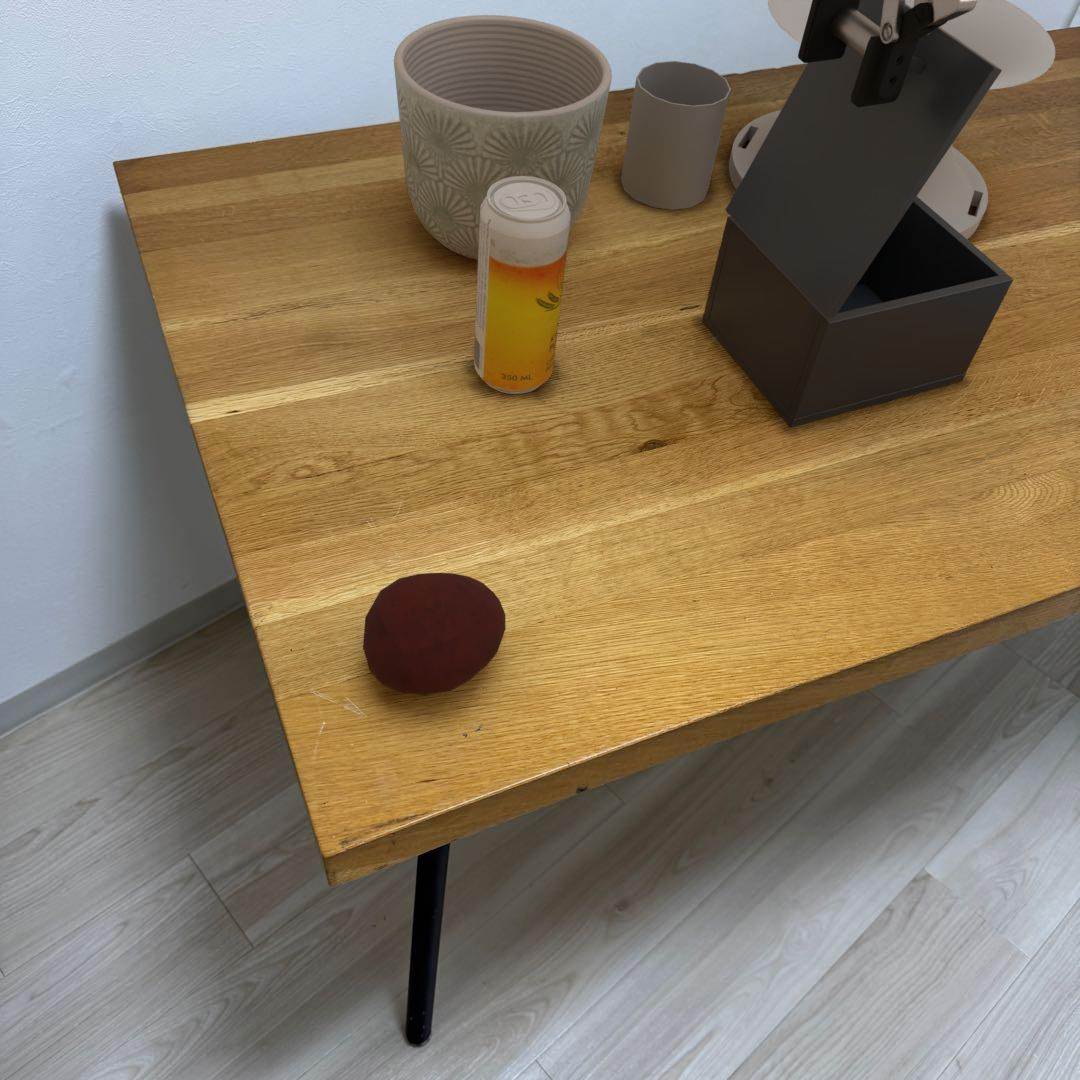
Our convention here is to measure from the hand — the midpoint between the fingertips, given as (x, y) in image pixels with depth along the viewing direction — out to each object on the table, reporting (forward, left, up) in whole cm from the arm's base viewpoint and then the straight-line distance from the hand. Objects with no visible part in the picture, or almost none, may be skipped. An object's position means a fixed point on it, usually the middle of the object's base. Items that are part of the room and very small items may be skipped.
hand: (846, 77), depth 64 cm
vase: (0, -32, -24) cm, 40 cm away
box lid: (-1, -2, -5) cm, 6 cm away
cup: (+16, -21, -24) cm, 36 cm away
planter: (+26, -5, -24) cm, 36 cm away
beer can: (+16, +11, -24) cm, 31 cm away
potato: (+8, +37, -24) cm, 44 cm away
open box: (-5, -5, -24) cm, 25 cm away
